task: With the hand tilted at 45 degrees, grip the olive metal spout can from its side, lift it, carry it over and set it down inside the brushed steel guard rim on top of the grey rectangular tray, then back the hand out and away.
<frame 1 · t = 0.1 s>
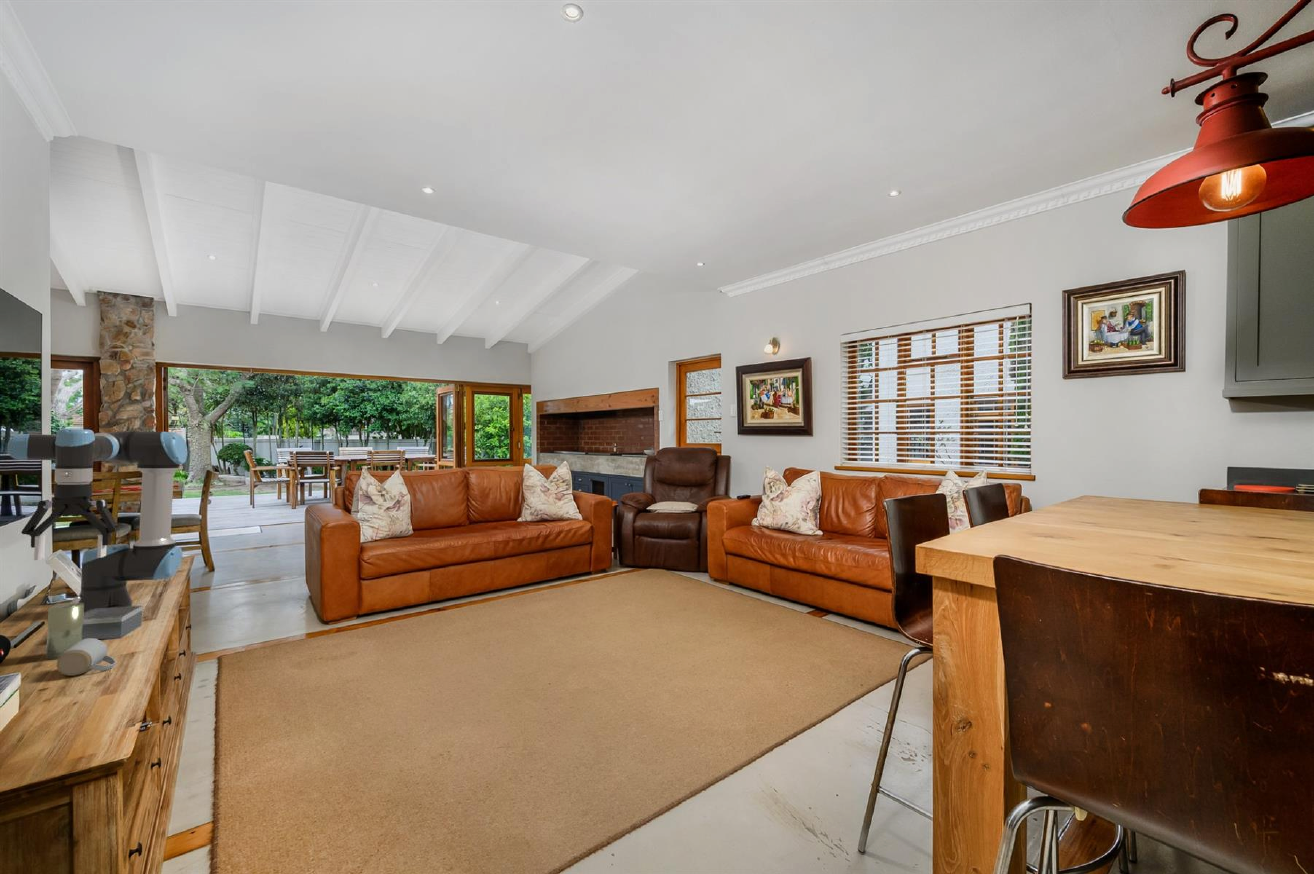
hand: (71, 558, 158), 28 cm above the sideboard, tool pointing down, fingers open, 13 cm apart
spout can: (64, 655, 159), on the sideboard
ceramic mug: (88, 671, 149), on the sideboard
grey rectangular tray: (105, 633, 177), on the sideboard
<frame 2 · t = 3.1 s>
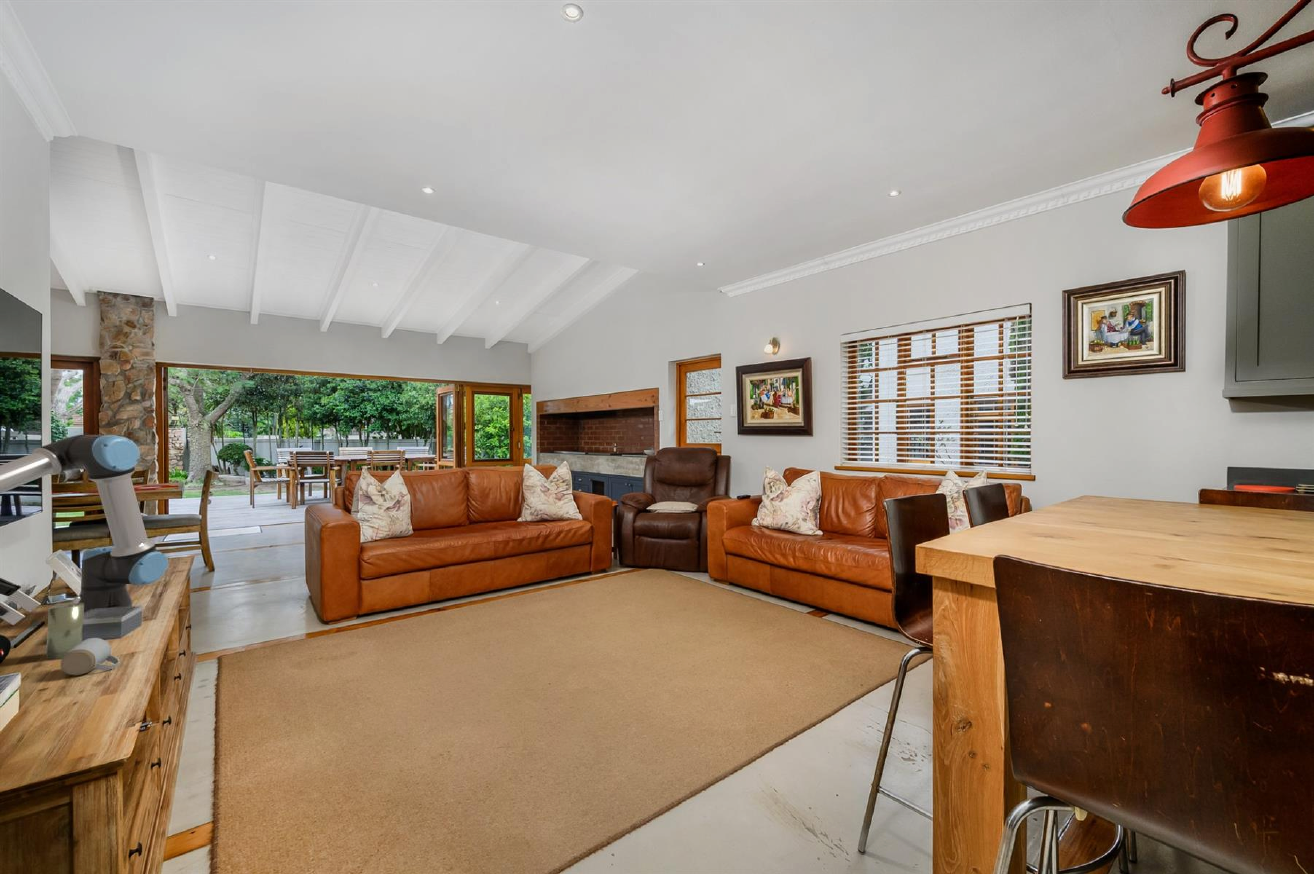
hand: (27, 614, 154), 13 cm above the sideboard, tool tilted 45°, fingers open, 13 cm apart
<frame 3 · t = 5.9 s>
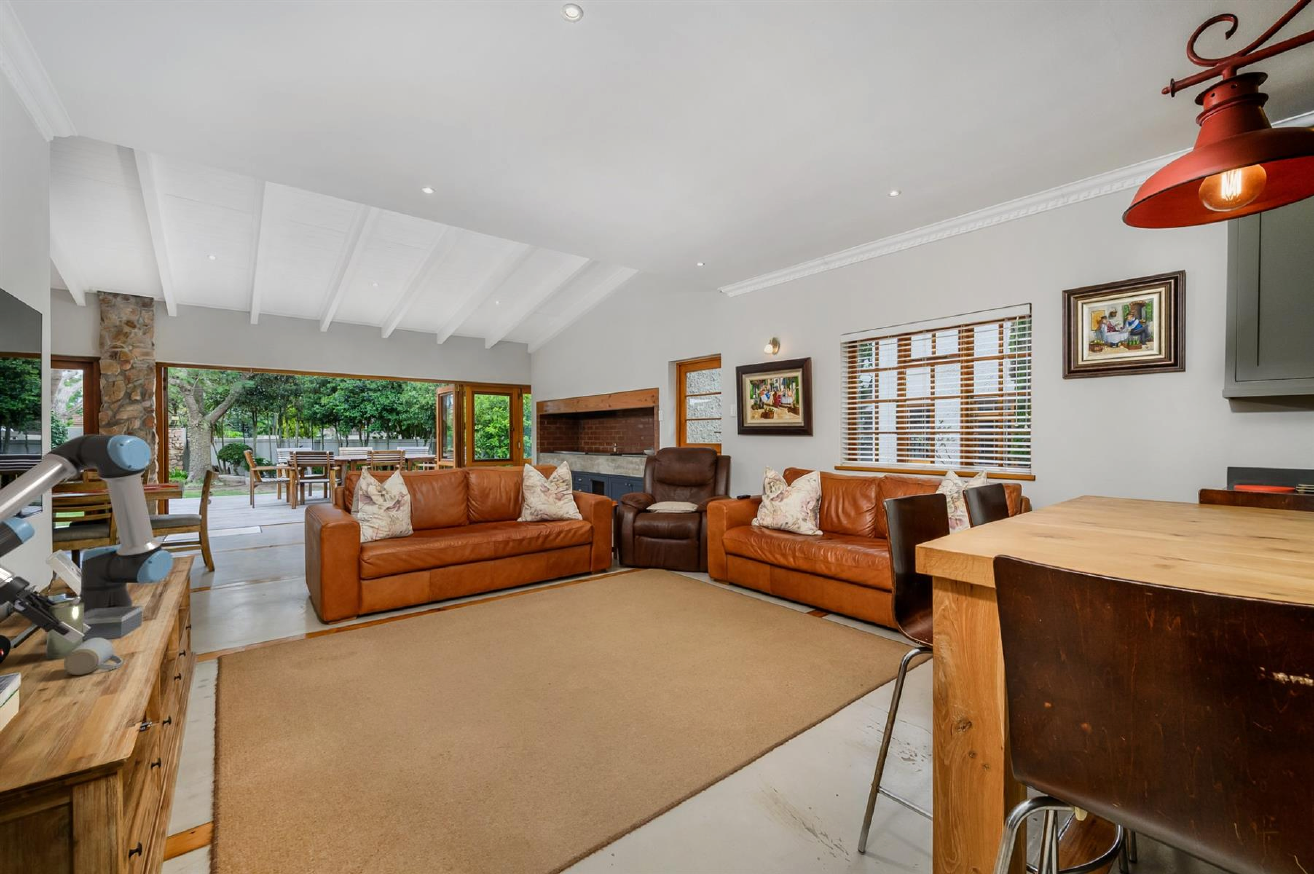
hand: (82, 635, 161), 5 cm above the sideboard, tool tilted 45°, fingers closed on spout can, 7 cm apart
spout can: (64, 654, 159), on the sideboard, touching gripper
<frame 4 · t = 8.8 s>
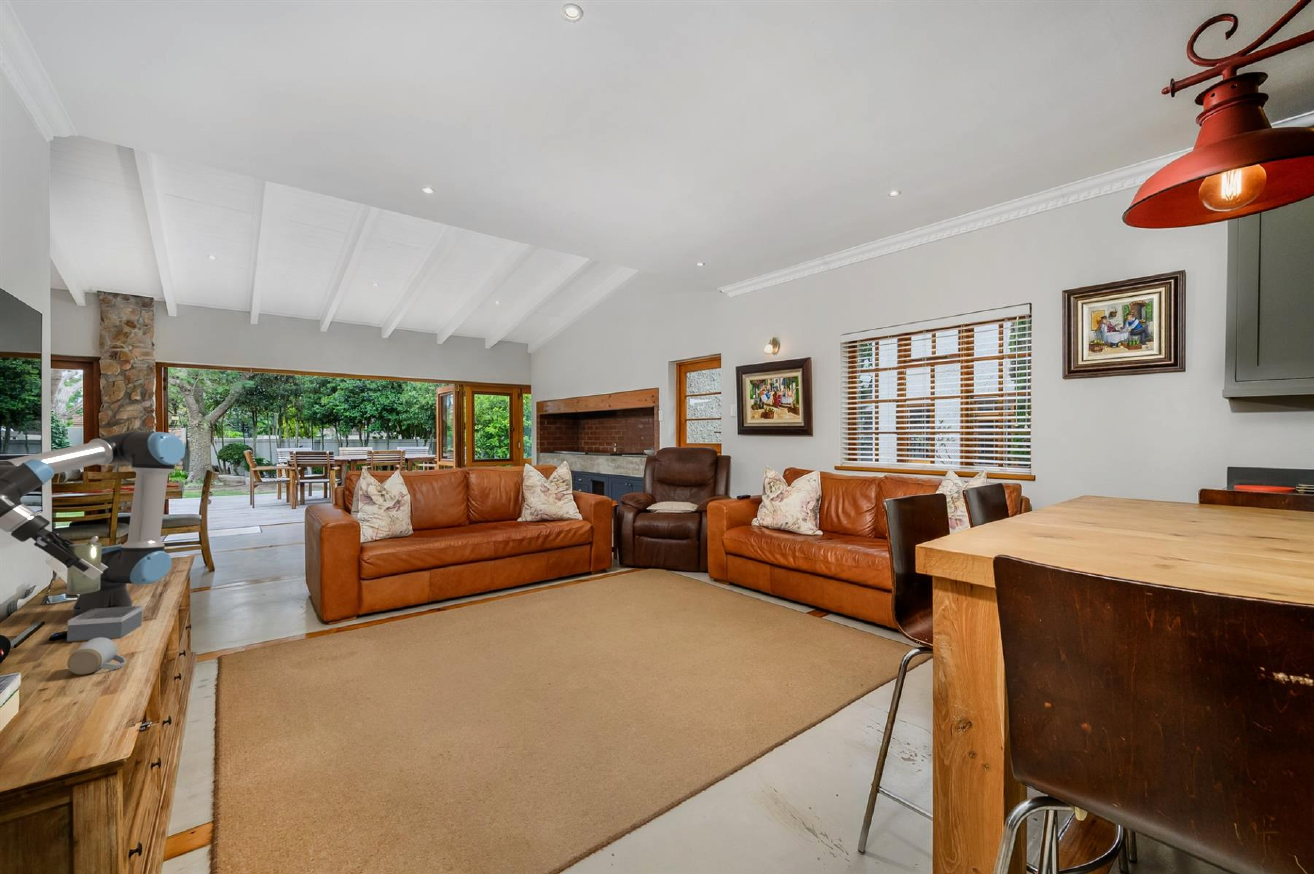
hand: (100, 573, 169), 21 cm above the sideboard, tool tilted 45°, fingers closed on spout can, 7 cm apart
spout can: (83, 591, 167), point 16 cm above the sideboard, touching gripper
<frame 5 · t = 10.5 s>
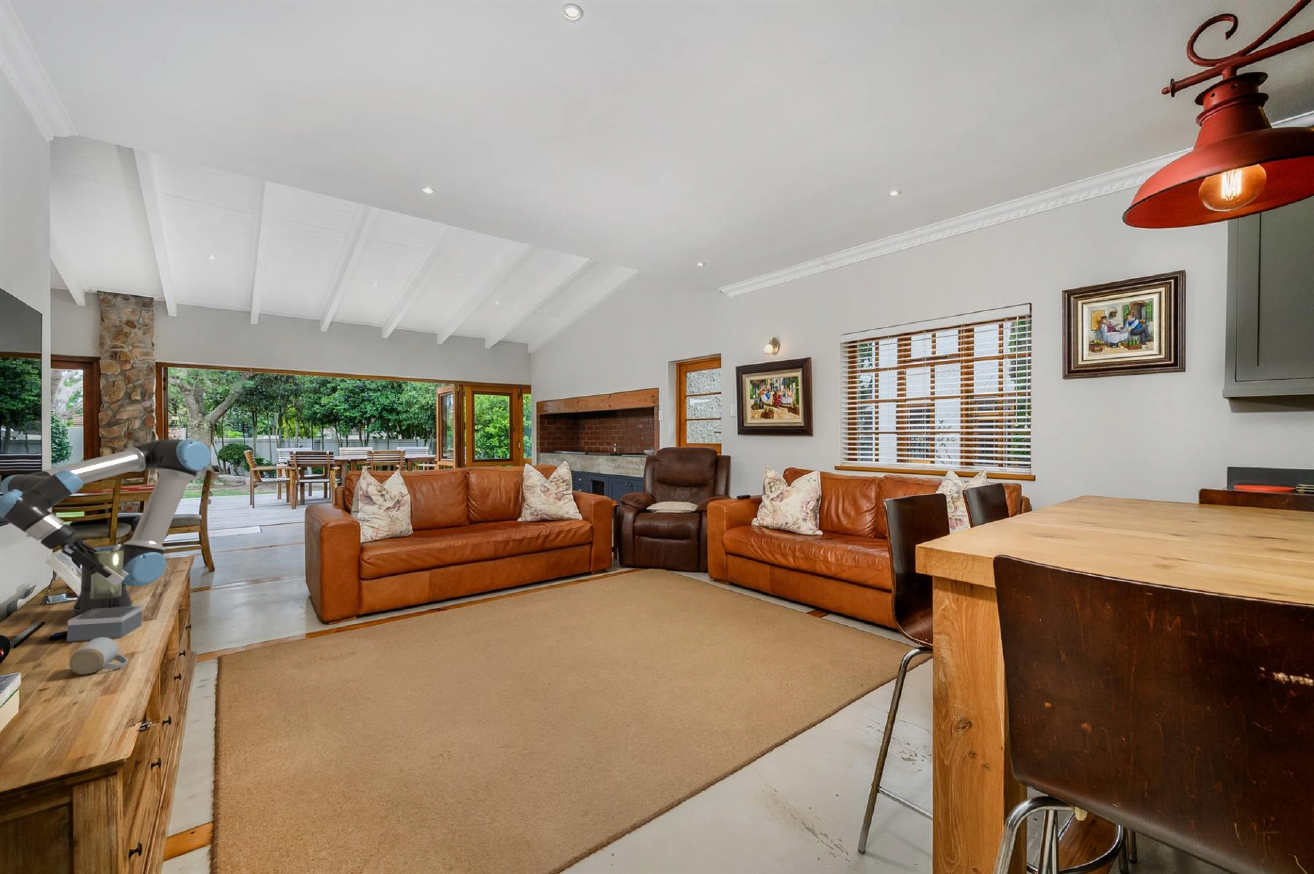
hand: (122, 579, 179), 17 cm above the sideboard, tool tilted 45°, fingers closed on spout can, 7 cm apart
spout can: (105, 596, 176), point 12 cm above the sideboard, touching gripper
when the fingers open (11 cm above the sideboard, at t = 12.0 s): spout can drops 2 cm, resting on grey rectangular tray.
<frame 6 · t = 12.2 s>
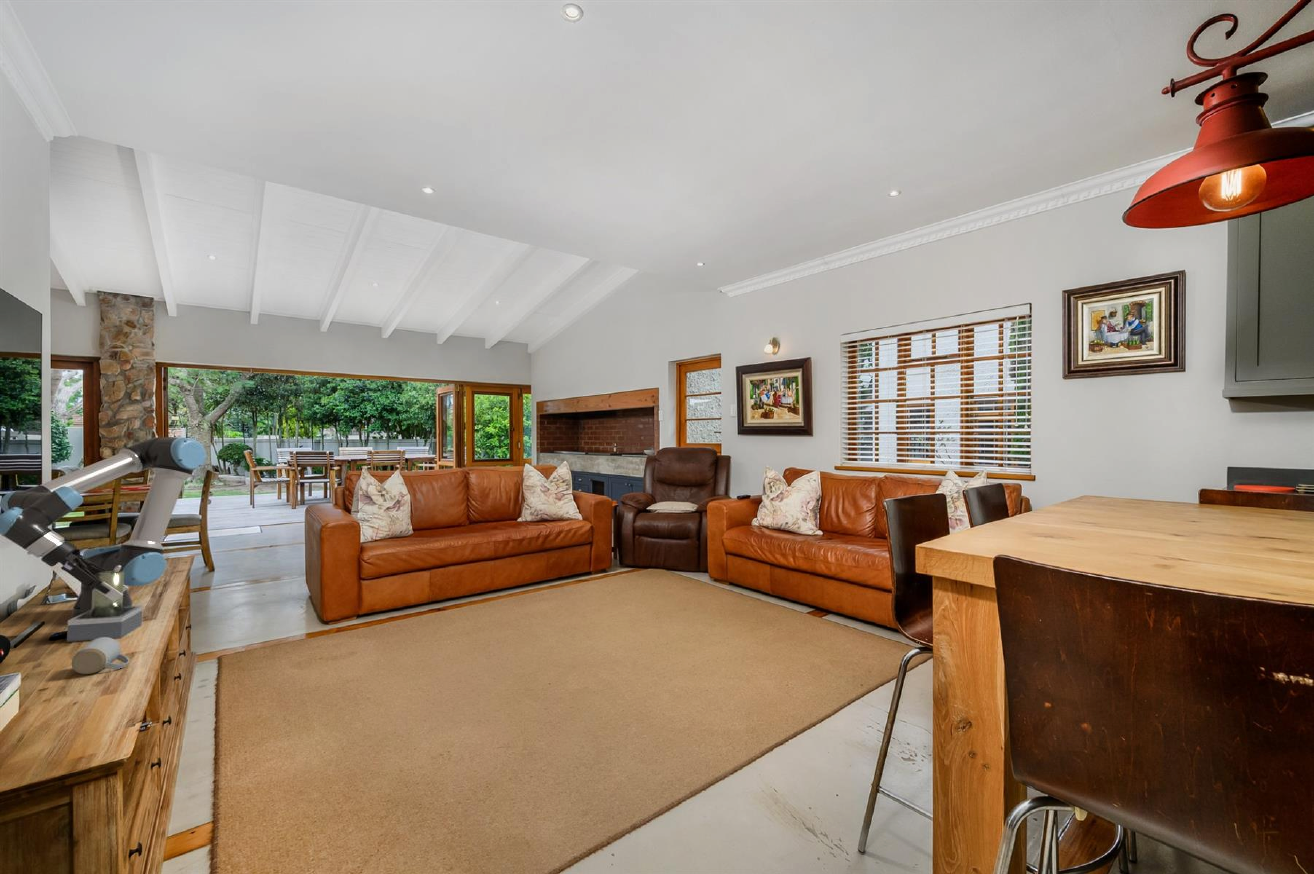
hand: (121, 594, 179), 12 cm above the sideboard, tool tilted 45°, fingers open, 9 cm apart
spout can: (106, 617, 177), point 5 cm above the sideboard, touching grey rectangular tray
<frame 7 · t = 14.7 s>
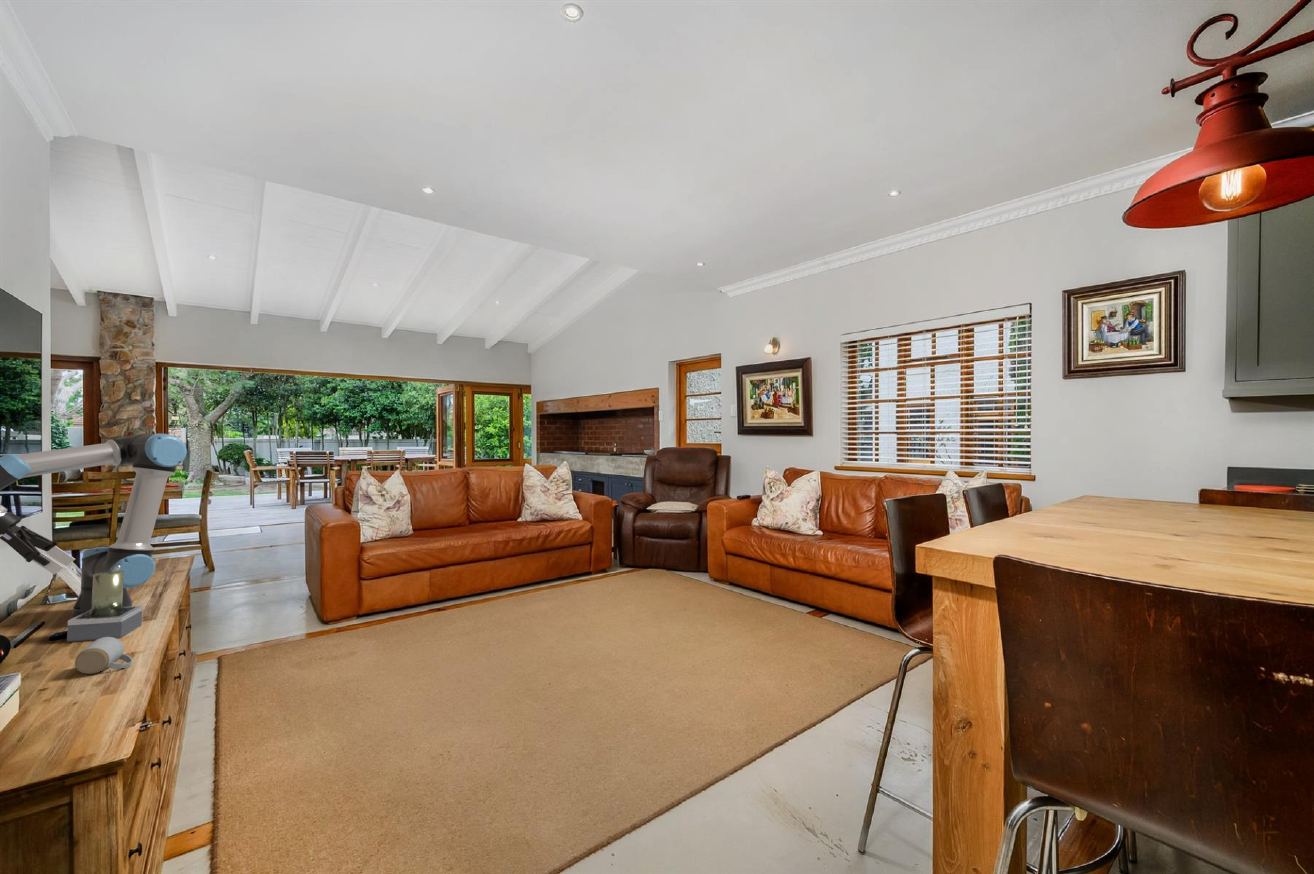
hand: (65, 566, 171), 22 cm above the sideboard, tool tilted 45°, fingers open, 13 cm apart
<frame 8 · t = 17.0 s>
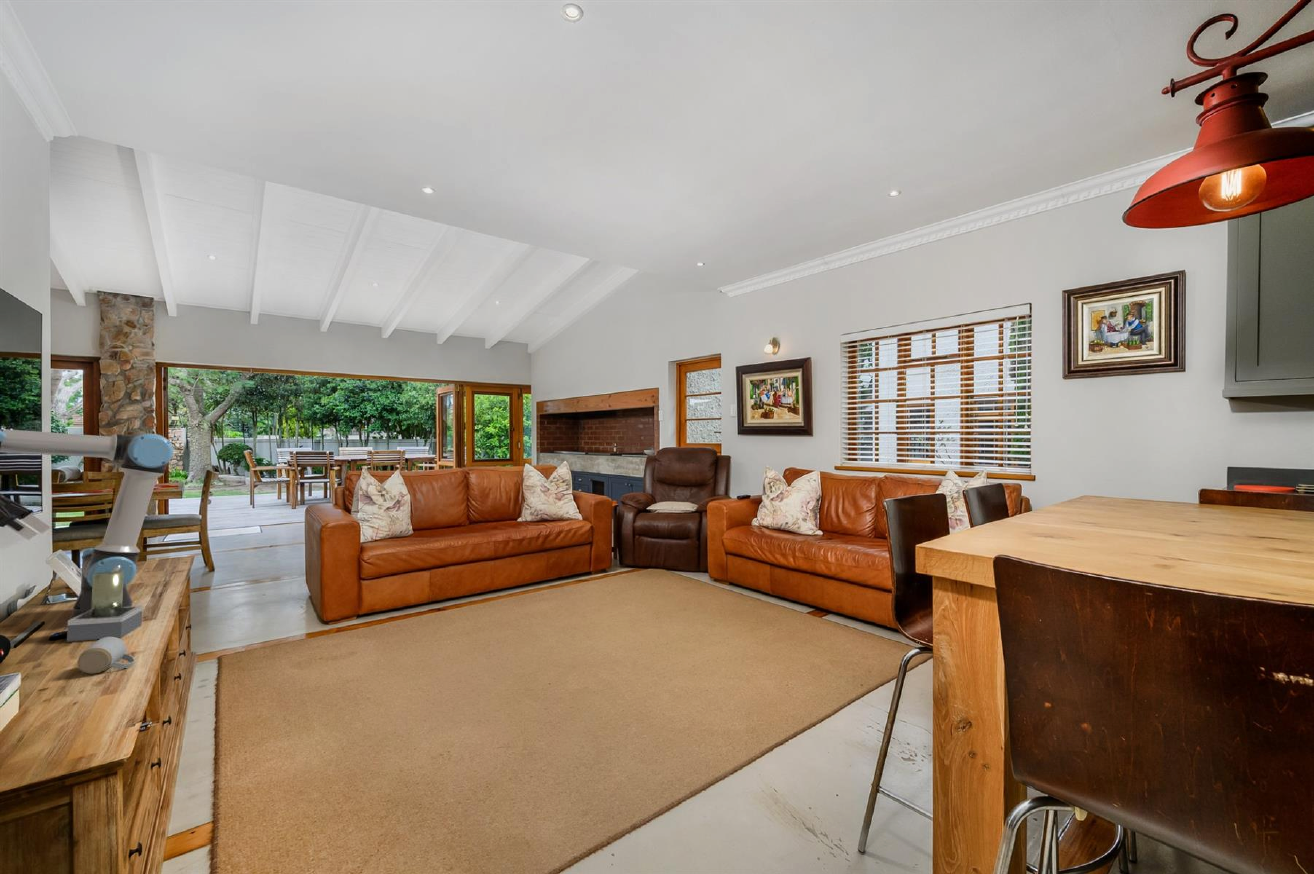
hand: (40, 533, 174), 32 cm above the sideboard, tool tilted 45°, fingers open, 13 cm apart
at the end: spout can 0.2 cm from the grey rectangular tray (horizontally); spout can point 5.0 cm above the sideboard; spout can tilted 0° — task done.
